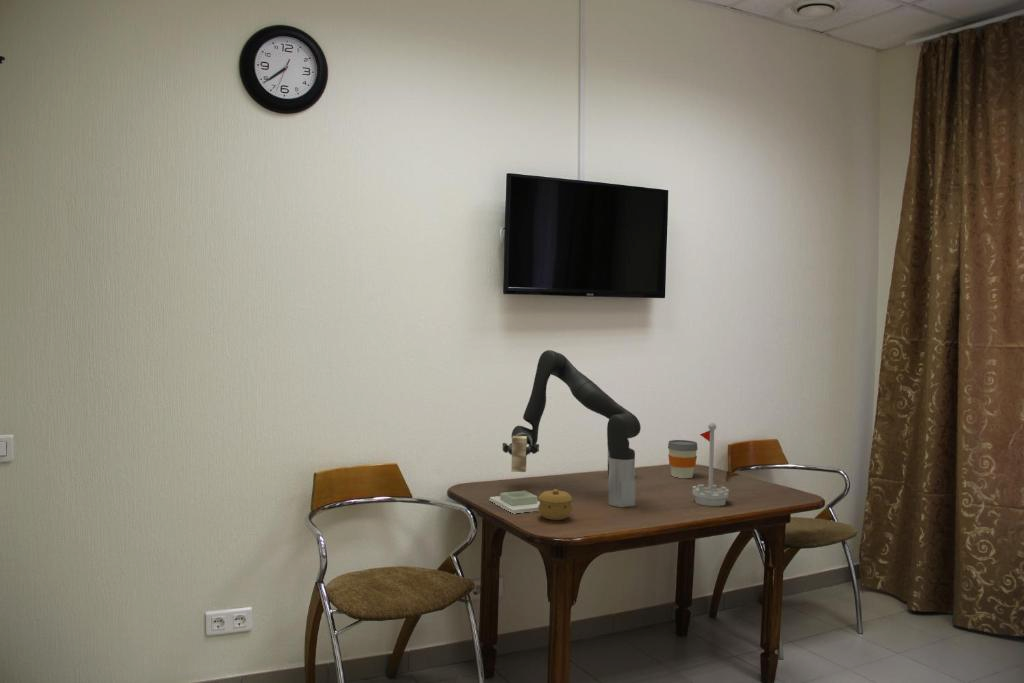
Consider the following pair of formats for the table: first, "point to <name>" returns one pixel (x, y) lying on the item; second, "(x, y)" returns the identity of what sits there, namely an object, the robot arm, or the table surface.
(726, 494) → the flag stand
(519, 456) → the birch column
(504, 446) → the robot arm
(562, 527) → the table surface
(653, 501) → the table surface
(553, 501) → the pot
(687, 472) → the reusable coffee cup
